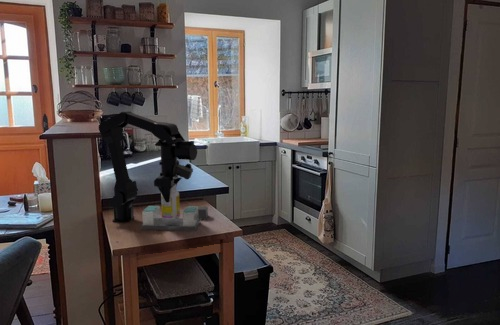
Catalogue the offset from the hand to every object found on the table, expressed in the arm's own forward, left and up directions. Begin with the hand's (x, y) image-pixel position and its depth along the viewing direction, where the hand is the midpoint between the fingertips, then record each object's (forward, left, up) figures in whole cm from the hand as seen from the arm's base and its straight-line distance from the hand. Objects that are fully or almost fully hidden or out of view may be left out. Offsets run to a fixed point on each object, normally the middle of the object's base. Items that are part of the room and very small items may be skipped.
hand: (170, 199), depth 142 cm
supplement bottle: (0, 0, -7) cm, 7 cm away
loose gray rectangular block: (+9, +11, -10) cm, 18 cm away
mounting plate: (0, 0, -10) cm, 10 cm away
